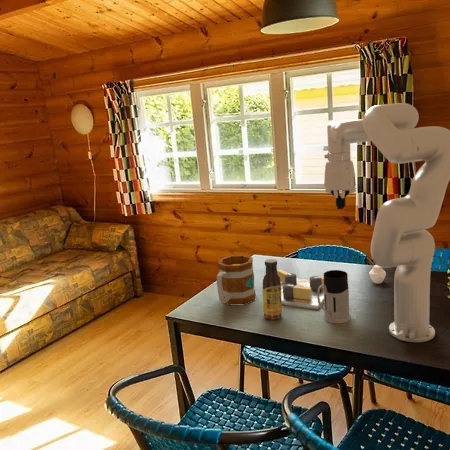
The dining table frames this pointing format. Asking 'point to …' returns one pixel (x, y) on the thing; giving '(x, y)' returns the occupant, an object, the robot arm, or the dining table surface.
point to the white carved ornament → (377, 274)
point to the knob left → (287, 277)
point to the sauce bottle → (272, 291)
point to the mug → (236, 279)
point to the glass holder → (335, 296)
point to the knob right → (316, 282)
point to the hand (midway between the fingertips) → (340, 208)
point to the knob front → (296, 292)
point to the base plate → (303, 302)
